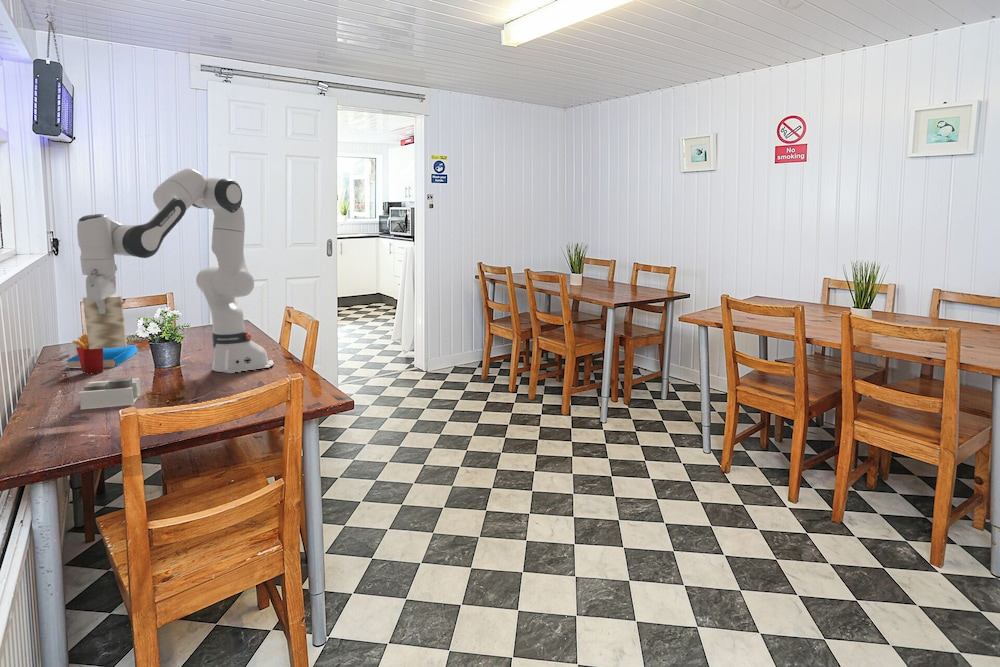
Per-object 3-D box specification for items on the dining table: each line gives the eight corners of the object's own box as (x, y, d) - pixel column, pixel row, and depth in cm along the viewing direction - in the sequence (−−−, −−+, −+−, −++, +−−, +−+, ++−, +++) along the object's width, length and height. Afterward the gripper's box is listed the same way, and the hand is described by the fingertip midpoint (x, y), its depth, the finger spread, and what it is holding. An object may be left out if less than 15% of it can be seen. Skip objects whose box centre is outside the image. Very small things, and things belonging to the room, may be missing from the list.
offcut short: (110, 400, 196) (107, 382, 195) (107, 404, 192) (104, 385, 191) (89, 402, 194) (87, 383, 193) (86, 406, 191) (83, 387, 189)
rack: (141, 396, 205) (139, 377, 204) (133, 409, 192) (131, 389, 191) (92, 400, 201) (89, 381, 199) (80, 414, 188) (77, 393, 186)
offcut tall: (134, 398, 198) (131, 377, 197) (131, 402, 195) (129, 380, 193) (113, 400, 196) (111, 378, 195) (110, 403, 193) (108, 382, 191)
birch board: (127, 345, 199) (121, 296, 196) (125, 346, 197) (120, 296, 194) (90, 348, 195) (84, 297, 192) (89, 349, 194) (82, 298, 191)
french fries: (107, 371, 236) (102, 333, 233) (83, 376, 229) (77, 336, 226) (95, 368, 241) (90, 330, 238) (71, 373, 234) (66, 334, 231)
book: (66, 360, 239) (91, 345, 263) (68, 371, 240) (93, 355, 263) (116, 358, 243) (136, 343, 267) (117, 368, 244) (138, 353, 267)
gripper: (102, 271, 183) (108, 317, 186) (117, 265, 202) (122, 307, 204) (77, 271, 181) (83, 318, 184) (95, 265, 200) (100, 308, 202)
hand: (104, 312), depth 194 cm, fingers closed on birch board, 2 cm apart
